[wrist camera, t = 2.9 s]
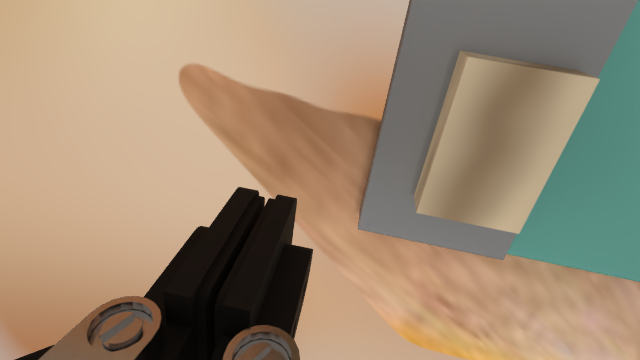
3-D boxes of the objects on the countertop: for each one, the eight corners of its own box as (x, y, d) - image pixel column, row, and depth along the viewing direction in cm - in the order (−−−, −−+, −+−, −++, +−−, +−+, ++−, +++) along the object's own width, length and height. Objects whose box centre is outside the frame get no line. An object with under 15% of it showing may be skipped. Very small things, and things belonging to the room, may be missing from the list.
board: (638, -51, 17) (667, -56, 15) (495, 241, 26) (503, 260, 24) (428, -81, 18) (433, -89, 16) (359, 213, 26) (357, 229, 25)
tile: (579, 70, 18) (600, 79, 16) (508, 214, 22) (518, 233, 20) (460, 50, 18) (467, 56, 17) (413, 195, 23) (416, 212, 21)
